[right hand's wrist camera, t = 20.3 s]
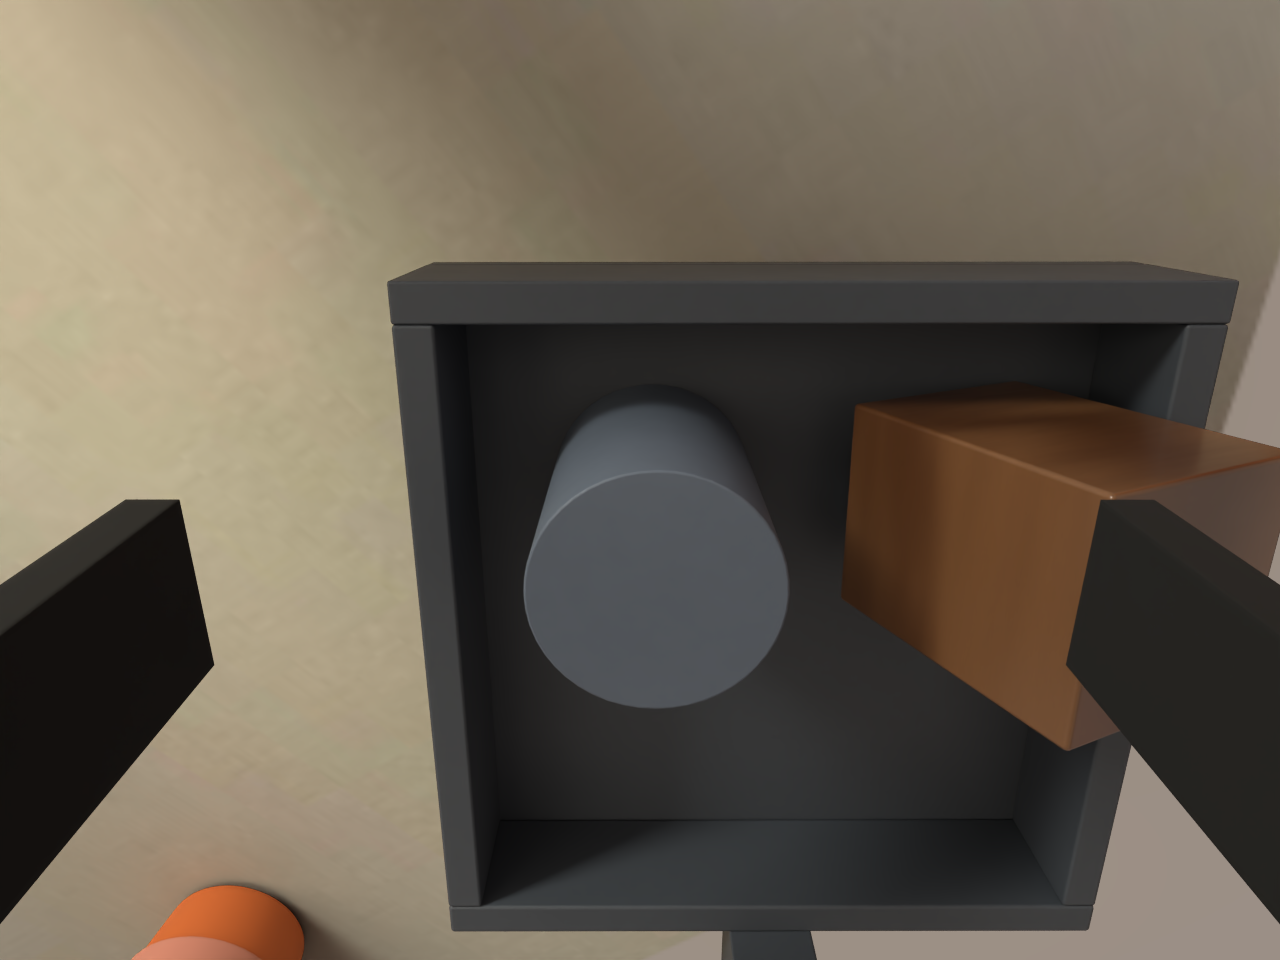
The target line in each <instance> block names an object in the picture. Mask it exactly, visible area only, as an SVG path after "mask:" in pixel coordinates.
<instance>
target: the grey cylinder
mask: <svg viewBox="0 0 1280 960" xmlns="http://www.w3.org/2000/svg"><path fill="white" fill-rule="evenodd" d="M789 596H790V579H789V573H788V566H787V562H786V559H785V555H784V552H783V549H782V546H781V544H780V541H779V538H778V536H777V533H776V531H775V528H774V525H773V523H772V520H771V518H770V515H769V512H768V510H767V507H766V504H765V502H764V499H763V497H762V494H761V491H760V489H759V486H758V484H757V481H756V478H755V476H754V473H753V470H752V468H751V465H750V463H749V460H748V457H747V455H746V452H745V450H744V447H743V444H742V442H741V440H740V438H739V436H738V433H737V432H736V430H735V429H734V427H733V425H732V424H731V422H730V421H729V420H728V419H727V418H726V417H725V415H724V414H723V413H722V412H721V411H720V410H719V409H717V408H716V407H715V406H714V405H713V404H711V403H710V402H708V401H707V400H705V399H704V398H702V397H700V396H698V395H696V394H694V393H692V392H690V391H687V390H684V389H681V388H678V387H673V386H668V385H657V384H647V385H637V386H632V387H627V388H624V389H621V390H618V391H615V392H612V393H610V394H608V395H606V396H604V397H602V398H601V399H599V400H598V401H596V402H595V403H593V404H592V405H590V406H589V407H588V408H587V409H586V410H585V411H584V412H582V414H581V415H580V416H579V417H578V418H577V419H576V420H575V421H574V423H573V424H572V426H571V427H570V429H569V430H568V432H567V434H566V436H565V438H564V440H563V442H562V445H561V448H560V451H559V454H558V457H557V461H556V464H555V468H554V471H553V474H552V478H551V481H550V485H549V488H548V492H547V495H546V499H545V502H544V505H543V509H542V512H541V516H540V519H539V523H538V526H537V530H536V533H535V536H534V540H533V543H532V547H531V550H530V554H529V557H528V561H527V564H526V570H525V576H524V603H525V611H526V614H527V618H528V622H529V625H530V628H531V630H532V632H533V635H534V637H535V639H536V641H537V643H538V644H539V646H540V648H541V649H542V651H543V653H544V654H545V655H546V657H547V658H548V659H549V660H550V661H551V663H552V664H553V665H554V666H555V667H556V668H557V669H558V670H559V671H560V672H561V673H562V674H563V675H564V676H565V677H566V678H568V679H569V680H570V681H572V682H573V683H574V684H576V685H577V686H579V687H580V688H582V689H584V690H586V691H587V692H589V693H591V694H593V695H595V696H597V697H600V698H602V699H605V700H607V701H610V702H614V703H617V704H621V705H625V706H631V707H637V708H649V709H662V708H675V707H681V706H687V705H691V704H694V703H698V702H701V701H705V700H707V699H709V698H712V697H714V696H717V695H719V694H721V693H723V692H724V691H726V690H728V689H730V688H732V687H733V686H735V685H736V684H737V683H739V682H740V681H742V680H743V679H744V678H746V677H747V676H748V675H749V674H750V673H751V672H752V671H753V670H754V669H755V668H756V667H758V665H759V664H760V663H761V662H762V661H763V659H764V658H765V657H766V656H767V655H768V653H769V651H770V650H771V648H772V647H773V645H774V643H775V642H776V640H777V638H778V636H779V634H780V631H781V629H782V627H783V624H784V621H785V617H786V614H787V610H788V603H789Z"/></svg>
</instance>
